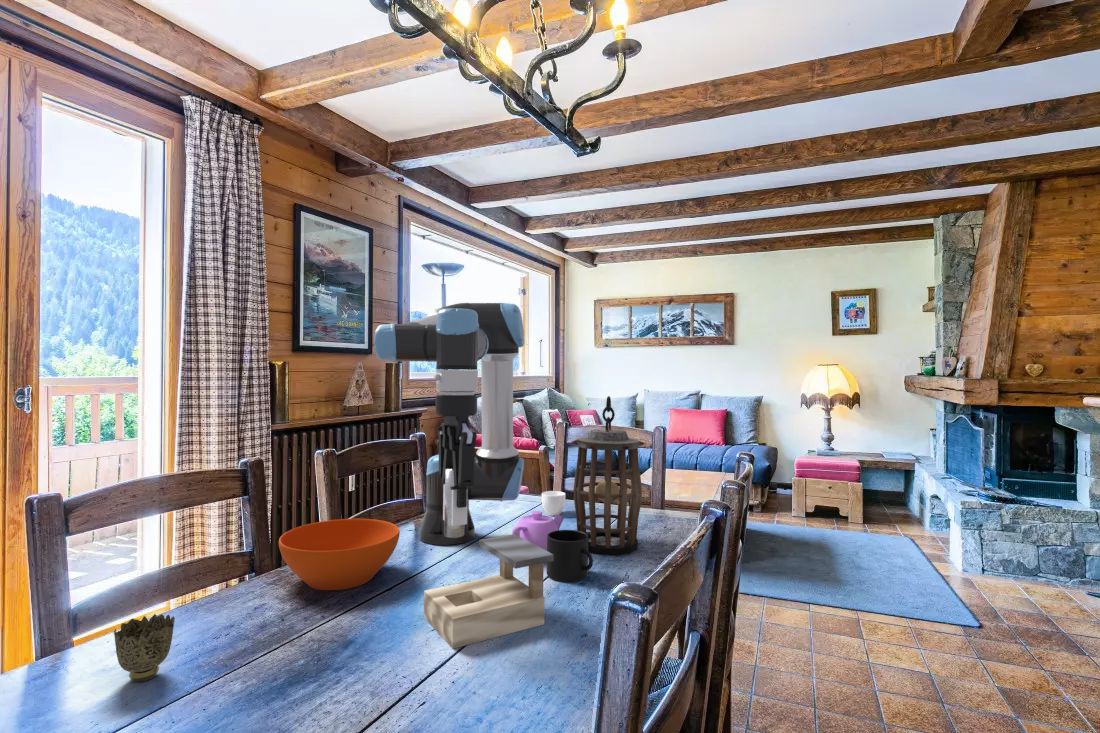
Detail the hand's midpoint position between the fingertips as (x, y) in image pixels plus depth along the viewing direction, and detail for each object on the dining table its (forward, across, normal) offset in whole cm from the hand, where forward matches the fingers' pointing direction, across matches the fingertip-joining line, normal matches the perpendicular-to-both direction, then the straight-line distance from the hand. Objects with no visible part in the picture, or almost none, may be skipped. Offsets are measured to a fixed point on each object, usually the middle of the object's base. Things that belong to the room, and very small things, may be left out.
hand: (454, 521), depth 104 cm
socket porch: (+19, +1, +6) cm, 20 cm away
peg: (+2, 0, 0) cm, 2 cm away
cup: (+19, -60, +58) cm, 86 cm away
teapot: (+19, -28, +34) cm, 48 cm away
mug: (+19, -10, +32) cm, 39 cm away
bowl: (+19, -34, -13) cm, 41 cm away
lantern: (+19, -25, +53) cm, 61 cm away
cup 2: (+19, -6, -47) cm, 51 cm away
